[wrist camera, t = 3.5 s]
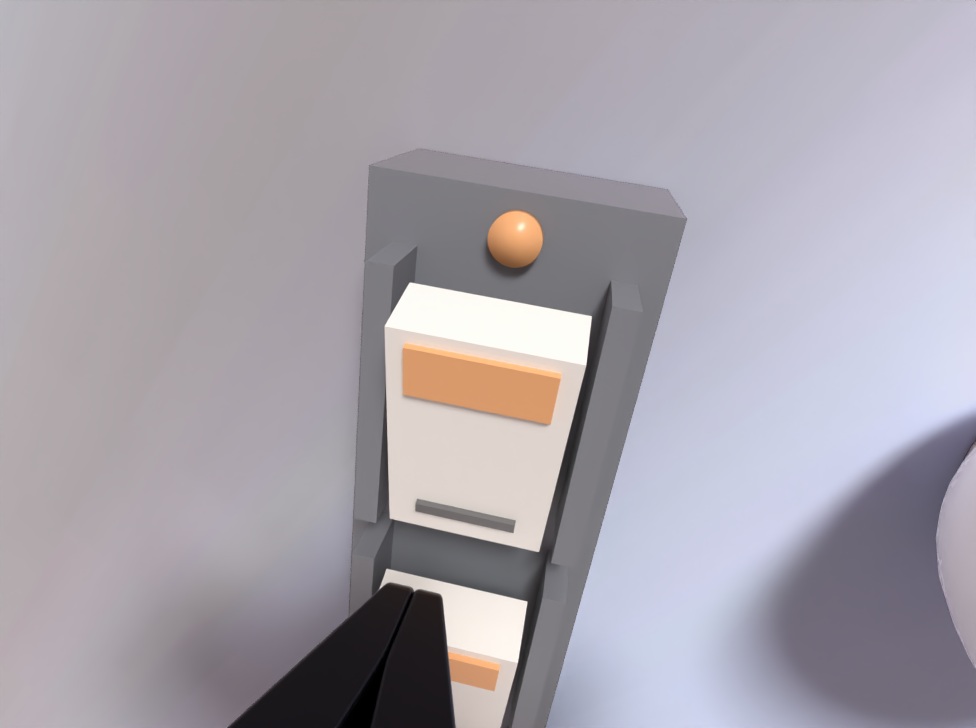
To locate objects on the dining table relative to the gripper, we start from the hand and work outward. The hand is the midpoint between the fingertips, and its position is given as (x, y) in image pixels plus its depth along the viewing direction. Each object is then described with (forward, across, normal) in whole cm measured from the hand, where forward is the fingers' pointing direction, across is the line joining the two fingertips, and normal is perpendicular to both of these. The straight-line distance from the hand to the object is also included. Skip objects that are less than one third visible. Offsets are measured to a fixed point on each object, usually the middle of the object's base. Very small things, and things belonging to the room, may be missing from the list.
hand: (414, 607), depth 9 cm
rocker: (+5, 0, 0) cm, 5 cm away
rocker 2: (+5, 0, +8) cm, 10 cm away
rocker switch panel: (+11, 0, +10) cm, 15 cm away
